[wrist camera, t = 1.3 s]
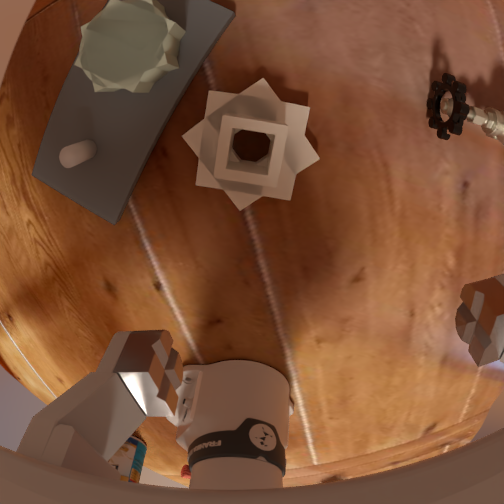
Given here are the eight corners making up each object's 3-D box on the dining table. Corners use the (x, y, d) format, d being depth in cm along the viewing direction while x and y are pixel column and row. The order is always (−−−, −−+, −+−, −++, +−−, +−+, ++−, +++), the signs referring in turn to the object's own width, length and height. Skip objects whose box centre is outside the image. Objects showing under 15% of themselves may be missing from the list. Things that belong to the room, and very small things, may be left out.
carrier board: (119, 219, 33) (98, 241, 28) (38, 171, 30) (10, 185, 25) (235, 16, 23) (230, -1, 18) (133, -25, 21) (112, -43, 16)
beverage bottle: (134, 453, 57) (116, 527, 40) (103, 435, 55) (79, 511, 37) (155, 446, 55) (138, 529, 37) (122, 427, 52) (97, 513, 34)
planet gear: (303, 216, 32) (310, 237, 28) (178, 196, 31) (165, 213, 27) (330, 93, 27) (344, 92, 22) (194, 70, 26) (182, 64, 21)
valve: (506, 102, 25) (428, 73, 25) (543, 110, 19) (464, 72, 19) (500, 154, 28) (423, 133, 28) (535, 169, 22) (457, 144, 22)
